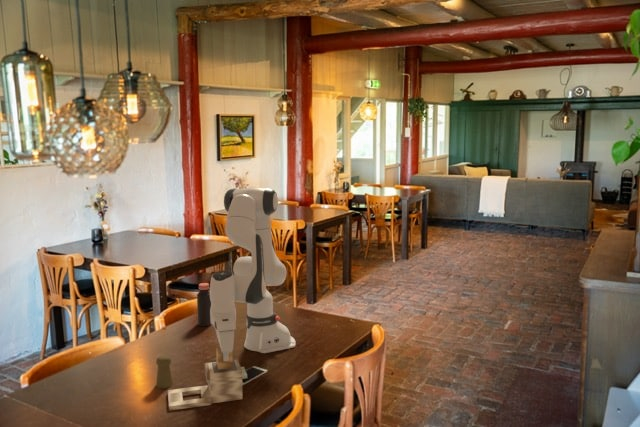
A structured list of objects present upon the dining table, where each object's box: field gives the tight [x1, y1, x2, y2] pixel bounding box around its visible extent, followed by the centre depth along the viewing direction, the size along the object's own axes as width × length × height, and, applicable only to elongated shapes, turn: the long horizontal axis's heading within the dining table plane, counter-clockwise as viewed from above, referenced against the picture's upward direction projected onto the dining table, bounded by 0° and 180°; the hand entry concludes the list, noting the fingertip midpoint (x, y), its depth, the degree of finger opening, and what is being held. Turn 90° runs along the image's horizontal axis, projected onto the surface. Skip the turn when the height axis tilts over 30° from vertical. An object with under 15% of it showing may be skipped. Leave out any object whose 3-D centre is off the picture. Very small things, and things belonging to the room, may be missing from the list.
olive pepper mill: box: [155, 354, 174, 389], centre depth 203 cm, size 6×6×11 cm
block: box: [215, 347, 233, 370], centre depth 194 cm, size 5×5×6 cm
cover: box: [204, 362, 247, 384], centre depth 195 cm, size 14×7×4 cm, turn 107°
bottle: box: [196, 282, 212, 327], centre depth 265 cm, size 7×7×20 cm
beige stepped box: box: [167, 359, 243, 411], centre depth 193 cm, size 25×12×11 cm, turn 107°
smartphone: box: [242, 365, 268, 386], centre depth 212 cm, size 8×1×15 cm
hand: (224, 355), depth 194 cm, fingers open, 8 cm apart
